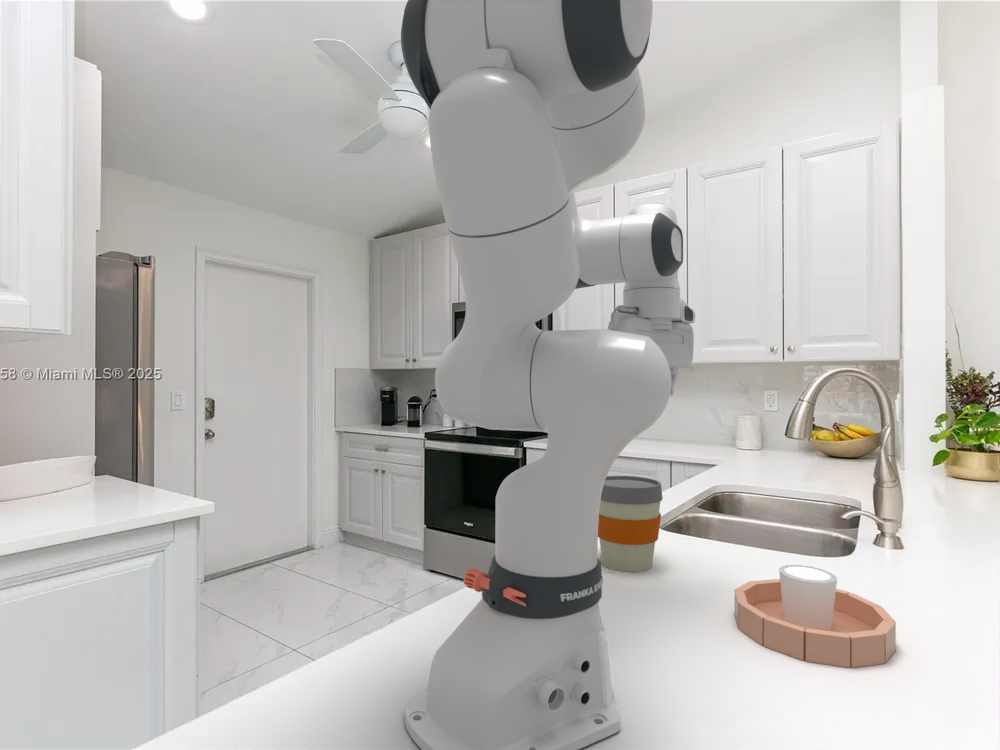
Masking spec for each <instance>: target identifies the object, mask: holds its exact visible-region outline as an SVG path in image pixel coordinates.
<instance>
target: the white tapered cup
mask: <svg viewBox="0 0 1000 750" xmlns="http://www.w3.org/2000/svg"><path fill="white" fill-rule="evenodd" d="M778 571H779V579H780V584H781V594H782V605H783V615H784V621H785V622H788V623H791V624H794V625H798V626H801V627H804V628H809V629H817V630H825V631H831V630H832V621H833V612H834V603H835V594H836V589H837V585H838V584H837V583H838V579H837V575H835V574H833V573H832V572H830V571H828V570H824V569H822V568H818V567H814V566H809V565H803V564H802V565H799V564H787V565H782V566H781V567H779V568H778Z"/></svg>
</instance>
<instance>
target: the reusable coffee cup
mask: <svg viewBox="0 0 1000 750" xmlns="http://www.w3.org/2000/svg"><path fill="white" fill-rule="evenodd" d="M662 490H663V489H662V482H661V481H659V480H657V479H654V478H649V477H643V476H634V475H607V477H606V479H605V482H604V486H603V489H602V494H601V501H600V511H599V524H598V540H599V548H600V554H601V555H600V556H601V564H603V566H605V567H607V568H609V569H612V570H614V571H618V572H619V571H620V572H624V573H625V572H628V573H640V572H645V571H648V570H650V569H652V567H653V561H654V553H655V544H656V542H657V541H658V540H659V533H660V526H661V525H660V524H661V519H662V513H661V512H660V509H661V508H660V507H661V501H663V491H662Z"/></svg>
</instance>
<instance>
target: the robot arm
mask: <svg viewBox="0 0 1000 750" xmlns="http://www.w3.org/2000/svg"><path fill="white" fill-rule="evenodd" d="M404 7H405V8H404V10H403V16H402V17H403V18H402V23H401V28H400V29H401V31H400V46H401V53H402V57H403V61H404V64H405V67H406V70H407V73H408V75H409V77H410V80H411V82H412V84H413V86H414V87H415V89H416V90H417V92H418V94H419V95H420V96H421V98H422V99H423V101H424V102H425V104H426V105H427V107H428V108H429V110H430V111H429V113H428V133H429V134H428V135H429V142H430V150H431V159H432V167H433V171H434V177H435V182H436V187H437V192H438V196H439V201H440V205H441V209H442V210H441V211H442V213H443V217H444V220H445V224H446V226H447V230H448V233H449V236H450V240H451V243H452V247H453V251H454V254H455V258H456V259H455V260H456V262H457V265H458V266H457V267H458V269H459V275H460V278H461V282H462V287H463V292H464V298H465V315H464V321H463V325H462V328H461V329H460V331H459V333H458V335H457V336H456V337H455V338H454V339H453V340H452V341H450V343H449V344H448V345H447V346H446V348H445V349H444V351H443V352H442V353H441V355H440V357H439V359H438V362H437V364H436V368H435V372H434V387H435V393H436V397H437V400H438V402H439V404H440V406H441V408H442V410H443V411H444V413H446V415H447V416H448V417H449V418H450V419H451V420H453V421H455V422H459V423H463V424H466V425H470V426H474V427H479V428H483V429H487V430H493V431H494V430H495V431H497V430H498V431H499V430H500V431H516V432H517V431H519V432H538V433H539V432H541V433H547V443H546V449H545V452H544V454H543V456H542V457H541V458H540V459H537V460H534V461H532V462H530V463H527V464H526V465H524V466H522V467H520V468H518V469H516V470H514V471H513V472H511V473H510V474H508V475H507V476H505V478H504V479H503V480H502V482H501V484H500V485H499V487H498V489H497V492H496V495H495V527H494V528H495V538H494V539H495V544H494V545H495V548H494V549H495V551H494V552H495V555H494V556H493V557H492V559H491V561H490V564H489V568H488V571H487V573H486V572H485V571H480V570H479V569H477V568H474V567H471V568H468V569H467V570H466V571H465V574H464V575H463V585H465V587H466V588H468V589H471V590H472V589H473V590H474V591H475V592H478V593H481V599H480V600H479V601H478V603H476V605H475V606H474V607H473V608H472V610H470V612H469V613H468V614H467V615H466V617H465V618H463V620H462V621H461V622H460V624H459V625H458V626H457V627H456V628H455V629H454V631H452V633H451V634H450V635H449V636H448V637H447V639H445V641H444V642H443V643H442V644H441V645H440V646H439V647H438V648H437V650H436V651H435V653H434V656H433V658H432V662H431V664H430V670H429V676H428V682H427V683H428V686H427V688H426V689H425V690H423V691H421V692H420V693H418V694H417V695H415V696H414V697H412V698H411V699H410V700H408V701H407V702H406V703H405V705H404V712H403V713H404V714H403V721H404V724H405V725H404V727H405V728H406V730H407V732H408V735H409V736H410V738H411V739H412V740H413V742H414V743H415V744H416V745H417V746H418V747H419V748H420V750H581V749H583V748H586V747H587V746H589V745H591V744H594V743H597V742H599V741H600V740H603V739H606V738H608V737H610V736H611V735H612V736H613V735H614V734H616V733H618V732H619V731H620V730H621V716H620V713H619V712H618V709H617V707H616V706H615V704H614V692H613V689H612V677H611V668H610V656H609V650H608V649H609V648H608V640H607V634H606V631H605V628H604V625H603V620H602V616H601V612H600V606H599V602H600V600H601V599H602V596H603V587H602V586H603V582H604V578H603V573H602V572H603V571H602V561H600V559H599V558H598V546H599V545H598V540H599V537H598V524H599V511H600V501H601V494H602V489H603V486H604V482H605V479H606V477H607V476H608V474H609V472H610V470H611V468H612V466H614V465H613V464H614V462H615V461H616V460H617V458H618V457H619V456H620V455H621V453H622V451H624V449H625V448H626V447H627V446H628V445H629V444H630V443H631V442H632V441H633V440H634V439H636V437H638V436H639V435H640V434H641V433H643V432H645V431H647V430H648V429H650V427H652V426H653V425H655V423H656V422H657V421H658V419H659V418H660V417H661V416H662V414H663V413H664V411H665V410H666V407H667V405H668V402H669V400H670V397H672V396H673V395H674V394H675V385H676V382H677V379H678V377H679V369H689V368H690V367H691V365H692V363H693V360H694V344H695V343H694V341H695V340H694V339H695V338H694V334H695V333H694V329H693V326H692V325H691V324H694V323H695V322H696V313H695V310H694V309H693V308H691V307H690V306H689V305H688V304H687V303H686V302H685V300H684V299H683V298H682V297H681V287H680V286H681V285H680V283H679V278H678V273H679V270H680V269H679V268H680V267H682V265H683V263H684V235H683V231H682V229H681V227H680V226H679V225H678V220H677V215H676V212H675V210H674V209H673V208H672V207H670V206H669V205H666V204H664V203H663V204H662V203H657V202H656V203H644V204H640V205H637V206H635V207H634V208H632V209H631V210H630V211H629V213H628V214H627V215H624V216H616V217H608V218H601V219H585V218H581V217H579V214H578V207H577V201H576V196H575V190H576V189H577V188H579V187H580V186H582V185H583V184H585V183H587V182H588V181H590V180H593V179H595V178H597V177H599V176H600V175H603V174H605V173H607V172H609V171H610V170H612V169H613V168H614V167H616V166H617V165H618V164H620V163H621V162H622V161H623V160H624V159H625V158H626V157H627V155H628V154H629V153H630V152H631V150H632V149H633V148H634V147H635V145H636V143H637V142H638V140H639V138H640V136H641V134H642V132H643V128H644V125H645V121H646V120H645V119H646V109H645V108H646V107H645V105H646V104H645V96H644V90H643V85H642V84H643V83H642V80H641V74H640V71H639V66H638V65H639V64H640V62H641V61H642V60H643V59H644V57H645V55H646V52H647V49H648V45H649V41H650V34H651V27H652V21H653V7H654V6H653V0H407V1H406V4H405V6H404ZM622 283H624V287H623V291H622V292H623V293H622V296H623V297H622V299H623V300H622V305H617V306H616V307H615V308H614V309H613V311H612V312H611V314H610V321H609V322H608V326H607V329H605V328H603V329H602V328H601V329H569V330H568V329H567V330H566V329H565V330H564V329H563V330H546V329H540V328H539V327H537V325H536V323H538V322H539V321H540V320H542V319H544V318H545V317H547V316H549V315H551V314H552V313H554V312H555V311H556V310H557V309H559V308H560V307H561V306H563V305H564V303H566V302H567V300H568V299H570V298H571V296H572V294H573V293H574V290H577V289H582V288H583V289H584V288H589V287H594V286H598V285H600V286H601V285H610V284H611V285H612V284H622Z"/></svg>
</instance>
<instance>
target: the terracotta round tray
mask: <svg viewBox="0 0 1000 750" xmlns="http://www.w3.org/2000/svg"><path fill="white" fill-rule="evenodd" d="M734 617H735V621H736V625H737V629H738V630H739V631H740V632H742V633H743V634H744V635H747V636H748V637H749V638H751V639H752V640H753V641H755V642H756V643H757V644H759V645H761V646H763V647H764V648H768V649H770V650H772V651H775V652H778V653H780V654H784V655H786V656H789V657H792V658H794V659H798V660H800V661H804V660H805V662H806V663H807V662H808V663H815V664H821V665H828V666H829V665H830V666H836V667H842V668H849V669H850V668H863V667H869V666H879V665H884V664H887V662H889V660H890V659H891V657H892V656H893V654H894V653H895V652H896V649H897V648H896V643H897V641H896V640H897V639H896V637H897V634H896V633H897V631H896V628H897V627H896V626H897V625H896V623H897V622H896V621H895V619H894V618H893V617H892V616H891V615H890V614H889V613H888V612H887V611H886V610H885V608H884V607H883V606H881V605H879V604H877V603H875V602H872V601H870V600H868V599H866V598H864V597H862V596H859V595H858V594H855V593H853V592H850V591H846V590H843V589H839V588H836V594H835V603H834V612H833V621H832V630H831V631H825V630H817V629H809V628H804V627H801V626H798V625H794V624H791V623H788V622H785V621H784V615H783V605H782V594H781V584H780V578H779V579H777V578H771V579H762V580H761V579H760V580H750V581H747V582H745V583H744V584H742V585H740V586H738V587H736V588H735V589H734Z"/></svg>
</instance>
